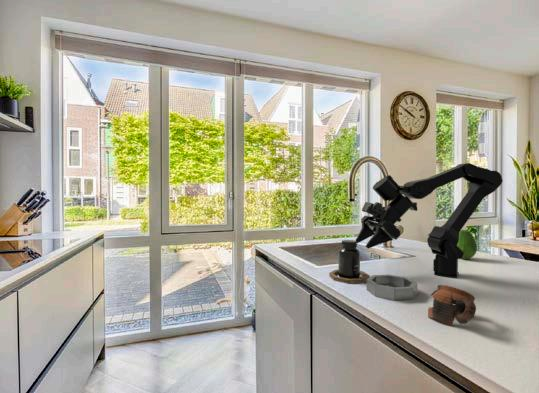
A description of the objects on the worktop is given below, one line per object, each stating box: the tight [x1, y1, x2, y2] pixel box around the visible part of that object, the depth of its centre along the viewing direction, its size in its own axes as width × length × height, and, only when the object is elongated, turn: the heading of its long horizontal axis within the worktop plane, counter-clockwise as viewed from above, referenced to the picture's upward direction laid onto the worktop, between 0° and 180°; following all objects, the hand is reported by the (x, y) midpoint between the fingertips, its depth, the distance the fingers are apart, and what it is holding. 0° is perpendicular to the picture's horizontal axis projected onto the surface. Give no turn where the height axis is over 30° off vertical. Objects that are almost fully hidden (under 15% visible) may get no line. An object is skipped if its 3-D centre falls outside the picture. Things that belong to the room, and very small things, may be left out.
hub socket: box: [366, 274, 418, 301], centre depth 84 cm, size 12×12×3 cm
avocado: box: [457, 229, 478, 260], centre depth 122 cm, size 8×8×12 cm
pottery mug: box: [427, 284, 477, 327], centre depth 66 cm, size 12×10×8 cm
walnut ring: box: [328, 269, 371, 284], centre depth 98 cm, size 12×12×1 cm
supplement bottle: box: [337, 239, 361, 279], centre depth 98 cm, size 7×7×12 cm
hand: (361, 244), depth 98 cm, fingers open, 9 cm apart
